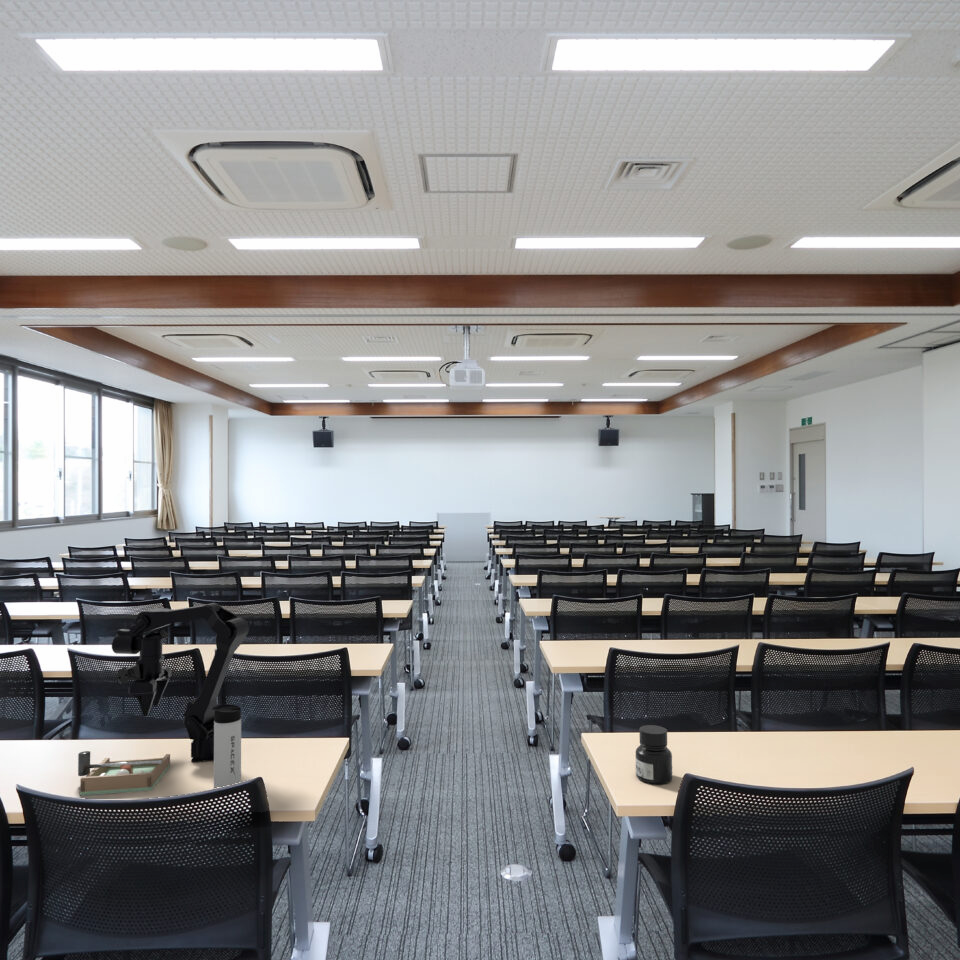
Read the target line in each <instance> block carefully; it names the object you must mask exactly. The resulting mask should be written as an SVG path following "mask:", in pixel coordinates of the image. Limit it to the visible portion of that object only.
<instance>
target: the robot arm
mask: <svg viewBox="0 0 960 960" xmlns="http://www.w3.org/2000/svg"><path fill="white" fill-rule="evenodd" d="M199 620H204V621H206V623H207V625H208V626H209V629H210V630H211V631H213V633H215V634H216V635H215V646H216V650H215V653H214V655H213V658H212V660H211V663H210V667H209V669H208V671H207V673H206V676H205V680H204V682H203V684H202V688H201V690H200V694H199V695H198V697H196V698H193V699H192V700H190V701H188V702H187V704H186V709H185V712H184V713H183V714H182V717H183V724H184V727H185V728H186V731H187V734H188V738H189V739H190V740H192V741H191V742H190V758H191V760H190V762H191V763H196V762H197V763H198V762H200V763H201V762H212V761H213V762H214V718H215V717H214V710H213V707H214V706H215V705H218V696H219V694H220V691H221V688H222V685H223V684H224V682H225V678H226V675H227V672H228V670H229V667H230V666H231V665H230V664H231V662H232V659H233V657H234V653H235V652H236V651H237V650H238V648H239V647H240V646H241V645H242V644H243V642H244V640H245V638H246V637H247V636H248V633H249V631H250V626H249V624H248V622H247V620H245V619H244V618H242V617H239V616H238V615H237V614H236V613H234V612H232V611H229V610H228V609H225V608H224V607H223V606H221V604H219V603H216V602H212V603H207V604H203V605H197V606H191V607H183V608H178V609H177V608H176V609H171V608H167V607H166V608H165V607H164V608H163V607H162V608H161V607H155V608H152V609H147V610H144V611H140V612H138V614H137V616H136V619H135V622H134V623H133V624H132V626H131V628H130V629H128V628H121V629H117V630H116V632H117V634H116V635H115V636H114V638H113V640H112V643H111V650H112V652H114V654H121V655H137V654H139V658H138V660H137V661H136V662H135V664H134V665H133V664H132V665H130V666H127V667H126V666H124V667H121V668H119V669H117V672H116V673H115V680H116V681H118V682H119V684H120V685H123V684H124V683H125V682H127V681H131V680H132V679H135V680H134V681H133V682H131V684H130V685H128V688H127V689H128V695H130V696H132V697H135V698H136V699H137V701H138V704H139V707H140V710H141V713H142V716H143V717H147V716H148V715H149V714H150V710H151V708H152V705H153V706H154V707H158V706H159V704H160V702H161V700H162V697H163V694H164V693H165V690H166V687H167V686H168V683H169V681H170V680H171V679H170V678H171V677H172V669H171V668H170V666H163V661H164V660H165V655H163V640H164V639H167V638H170V634H169V633H168V632H166V631H165V629H160V628H164V627H167V626H169V625H172V624H173V625H174V624H179V623H180V624H181V623H186V622H191V621H199ZM158 629H159V630H158ZM155 630H157V631H155ZM145 633H146V634H145Z"/></svg>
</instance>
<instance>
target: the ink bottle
mask: <svg viewBox="0 0 960 960" xmlns="http://www.w3.org/2000/svg"><path fill="white" fill-rule="evenodd" d="M638 734H639V744H640V745H639V746H637V747H636V749H635V776H636V778H637V779H638V780H639V781H641V782H644V783H646V784H650V785H651V784H652V785H664V784H668V783H671V781H672V780H673V754H672V751H671V750H670V749H669V748H668V729H667V728H665V727H662V726H660V725H654V724H648V725H642V726H640V727H639V733H638Z"/></svg>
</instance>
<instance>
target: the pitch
mask: <svg viewBox="0 0 960 960" xmlns="http://www.w3.org/2000/svg"><path fill="white" fill-rule="evenodd" d="M153 760H162V764H150V765H134V766H133V774H121V775H116V773H117V772H118V771H119V770H121V766H119V767H103V768H92V770H90V773H89V774H88V775H86V776H80V784H79V786H80V792H79V793H80V794H79V795H80V796H90V795H91V796H92V795H102V794H103V795H106V794H120V792H122V793H131V792H132V793H136V792H148V791H152V790H153V789H154V787H155V786H156V785H157V784H158V782H159V781H160V780H161V778H162V777H163V776H164V775H165V774H166V772H167V771H168V770H169V769H170V767H171V753H167V754H165V755H163V757H157V758H155V757H153V758H138V759H124V760H123V759H122V760H111V759H110V757H105V758H104V759H103V760H102V761H101V762H99V764H105V763H121V762H137V761H153ZM117 792H118V793H117Z"/></svg>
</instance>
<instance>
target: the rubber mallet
mask: <svg viewBox="0 0 960 960" xmlns="http://www.w3.org/2000/svg"><path fill="white" fill-rule="evenodd" d="M77 757H78V758H77V760H78V761H77V765H78V766H77V775H78V777H86V776H87V775H88V774H89V773H90V772H91V769H94V768H103V767H119V766H121V769H127V770H128V771H129V773H130V774H133V766H134V765H150V764H162V760H153V761H137V762H121V763H105V764H100V763H93V764H92V763H91V751H89V750H84V751H81V752H79V753H78V754H77Z"/></svg>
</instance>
